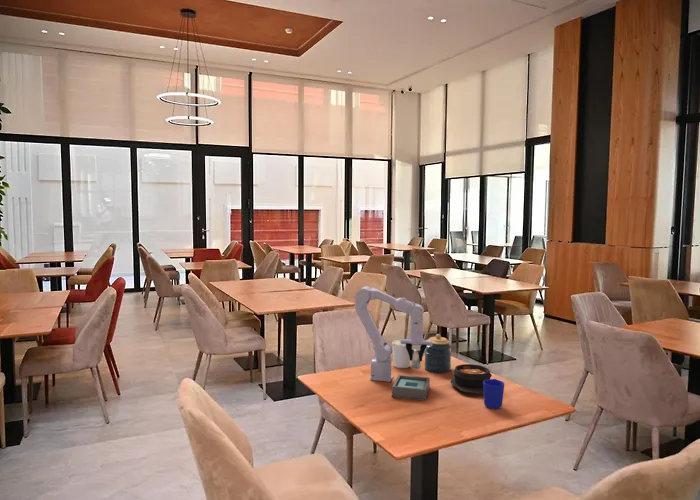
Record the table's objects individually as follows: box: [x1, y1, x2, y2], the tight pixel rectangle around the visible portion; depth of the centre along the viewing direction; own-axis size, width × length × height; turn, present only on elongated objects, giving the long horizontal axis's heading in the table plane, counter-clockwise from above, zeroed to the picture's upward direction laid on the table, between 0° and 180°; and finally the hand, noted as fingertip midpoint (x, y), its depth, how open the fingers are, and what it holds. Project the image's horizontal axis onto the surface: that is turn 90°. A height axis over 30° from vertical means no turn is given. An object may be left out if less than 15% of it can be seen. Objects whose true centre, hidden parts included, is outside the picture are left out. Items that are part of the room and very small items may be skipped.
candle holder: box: [391, 339, 411, 369], centre depth 253 cm, size 10×10×12 cm
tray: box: [391, 374, 431, 401], centre depth 216 cm, size 14×16×4 cm
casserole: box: [450, 363, 493, 394], centre depth 223 cm, size 25×19×8 cm
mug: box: [483, 378, 505, 410], centre depth 203 cm, size 8×12×10 cm
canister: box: [424, 333, 452, 373], centre depth 248 cm, size 13×13×18 cm
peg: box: [410, 348, 421, 370], centre depth 229 cm, size 4×4×8 cm
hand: (415, 360), depth 229 cm, fingers closed on peg, 4 cm apart
